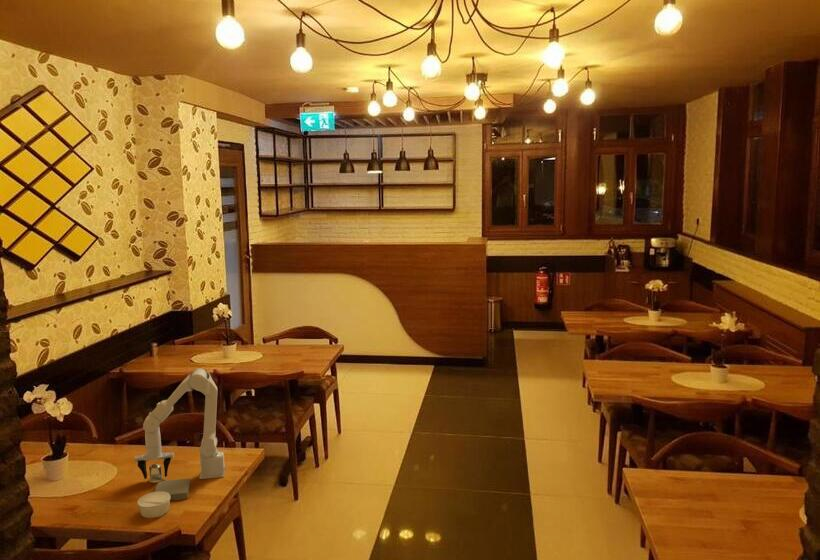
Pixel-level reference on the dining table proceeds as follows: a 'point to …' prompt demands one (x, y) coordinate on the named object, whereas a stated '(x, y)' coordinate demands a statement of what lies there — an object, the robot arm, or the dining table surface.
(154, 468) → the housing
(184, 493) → the stand
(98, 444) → the dining table surface
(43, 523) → the dining table surface
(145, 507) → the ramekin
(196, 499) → the dining table surface
